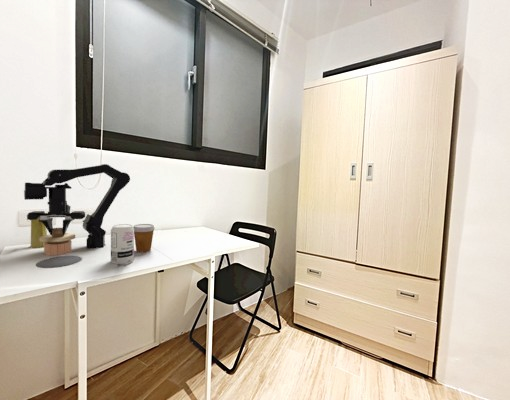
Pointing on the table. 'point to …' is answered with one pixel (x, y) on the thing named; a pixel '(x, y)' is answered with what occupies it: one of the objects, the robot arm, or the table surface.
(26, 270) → the table surface
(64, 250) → the bowl
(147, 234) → the disposable coffee cup
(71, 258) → the mat
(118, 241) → the supplement can
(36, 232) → the vase
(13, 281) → the table surface
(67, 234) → the lid
